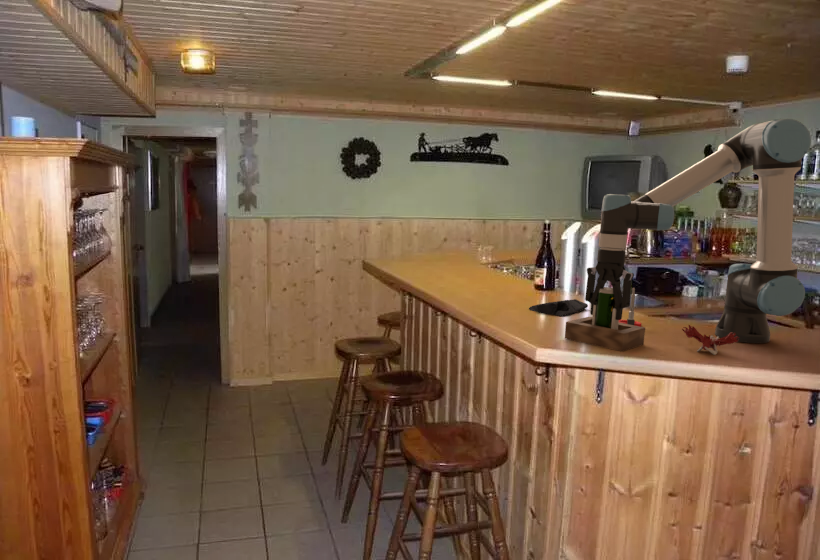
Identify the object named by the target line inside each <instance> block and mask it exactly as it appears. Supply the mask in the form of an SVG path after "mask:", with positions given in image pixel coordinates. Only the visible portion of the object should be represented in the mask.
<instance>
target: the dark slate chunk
mask: <svg viewBox="0 0 820 560" xmlns="http://www.w3.org/2000/svg"><path fill="white" fill-rule="evenodd" d="M588 307H589V306H588V303H585V302H584V301H580V300H578V299H576V298H575V299H564V300H558V301H551V302H544V303H539V304H535V305H531V306H530V307H529V308H528V311H530V312H531V311H532V312H536V313H540V314H545V315H548V316H557V317H566V316H570V314H571V315H574V314H575V313H579V312H582V311H583V310H586V309H587V308H588Z"/></svg>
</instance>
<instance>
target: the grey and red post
mask: <svg viewBox="0 0 820 560" xmlns="http://www.w3.org/2000/svg"><path fill="white" fill-rule="evenodd" d="M635 291H636V288H635V287H632V288H631V296H630V306H629V311H628V318H626V319H621V320H619V323H624V324H629V325H634V326H640V327H642V322H640V321H636V320H635V299H636V292H635Z"/></svg>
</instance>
